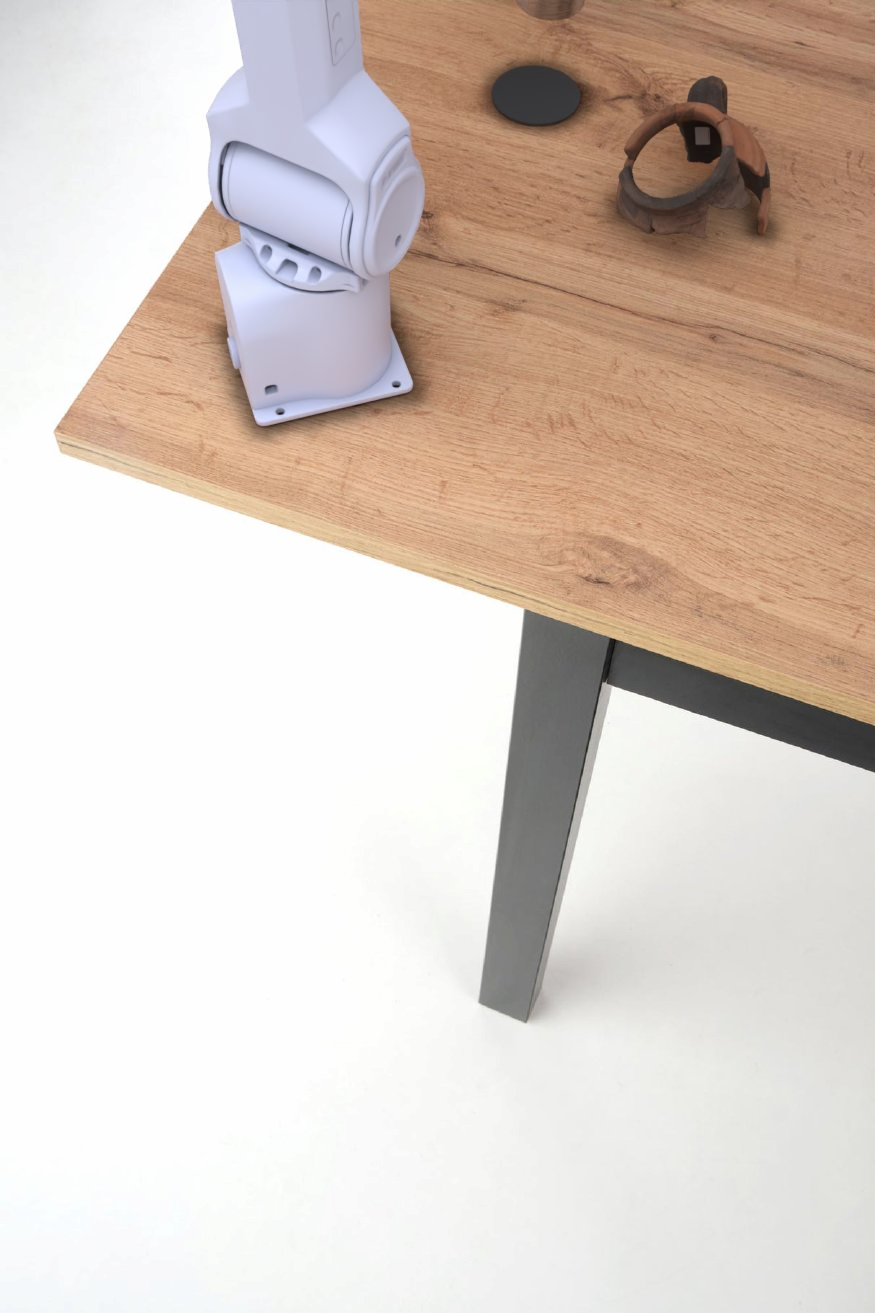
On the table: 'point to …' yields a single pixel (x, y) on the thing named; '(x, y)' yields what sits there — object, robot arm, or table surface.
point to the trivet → (536, 95)
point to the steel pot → (551, 8)
